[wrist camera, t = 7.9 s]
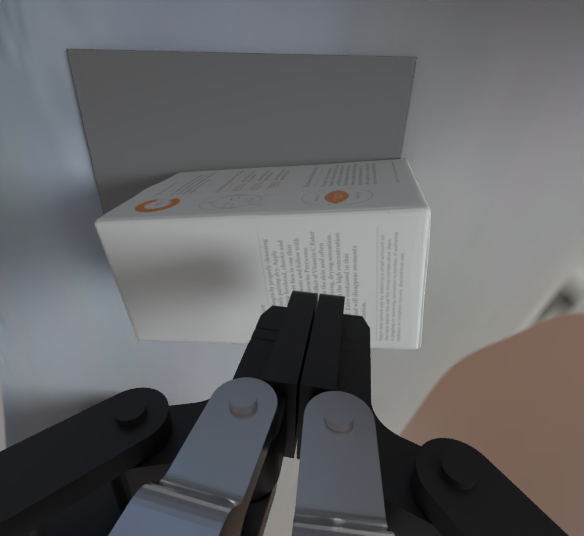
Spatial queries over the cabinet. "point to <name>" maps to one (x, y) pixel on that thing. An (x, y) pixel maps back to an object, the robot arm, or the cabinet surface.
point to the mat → (233, 112)
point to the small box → (272, 249)
